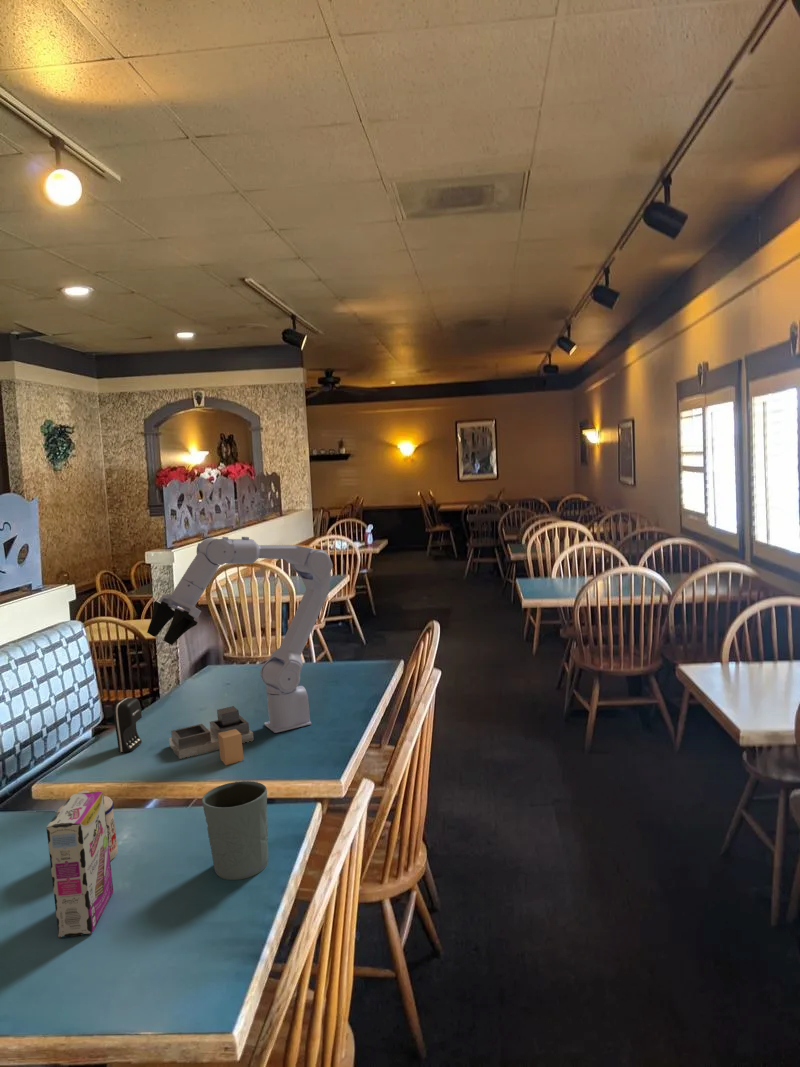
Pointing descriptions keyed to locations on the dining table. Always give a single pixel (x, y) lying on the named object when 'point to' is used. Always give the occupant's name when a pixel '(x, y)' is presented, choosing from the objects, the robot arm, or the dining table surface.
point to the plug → (230, 746)
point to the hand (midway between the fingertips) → (159, 638)
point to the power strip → (208, 734)
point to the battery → (127, 724)
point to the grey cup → (237, 828)
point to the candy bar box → (80, 863)
